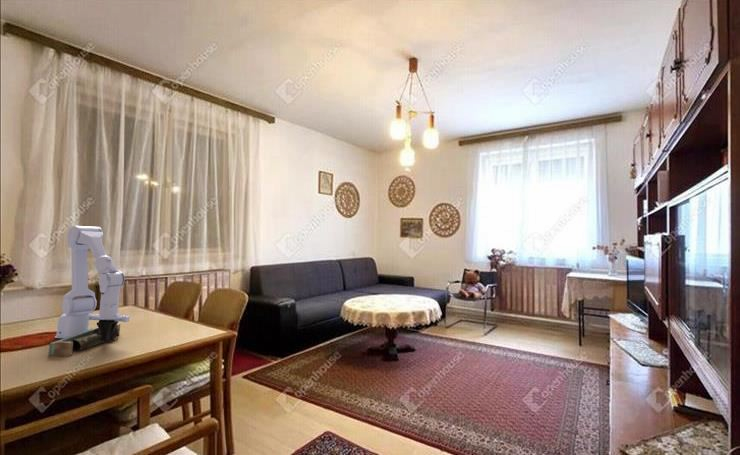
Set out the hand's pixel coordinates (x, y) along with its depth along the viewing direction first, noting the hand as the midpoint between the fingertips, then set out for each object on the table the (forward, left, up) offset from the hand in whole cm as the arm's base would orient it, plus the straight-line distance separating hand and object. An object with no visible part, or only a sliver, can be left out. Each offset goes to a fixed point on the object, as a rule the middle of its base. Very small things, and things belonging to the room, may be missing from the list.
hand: (106, 339), depth 136 cm
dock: (-7, 0, -2) cm, 7 cm away
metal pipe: (-4, +1, -2) cm, 5 cm away
